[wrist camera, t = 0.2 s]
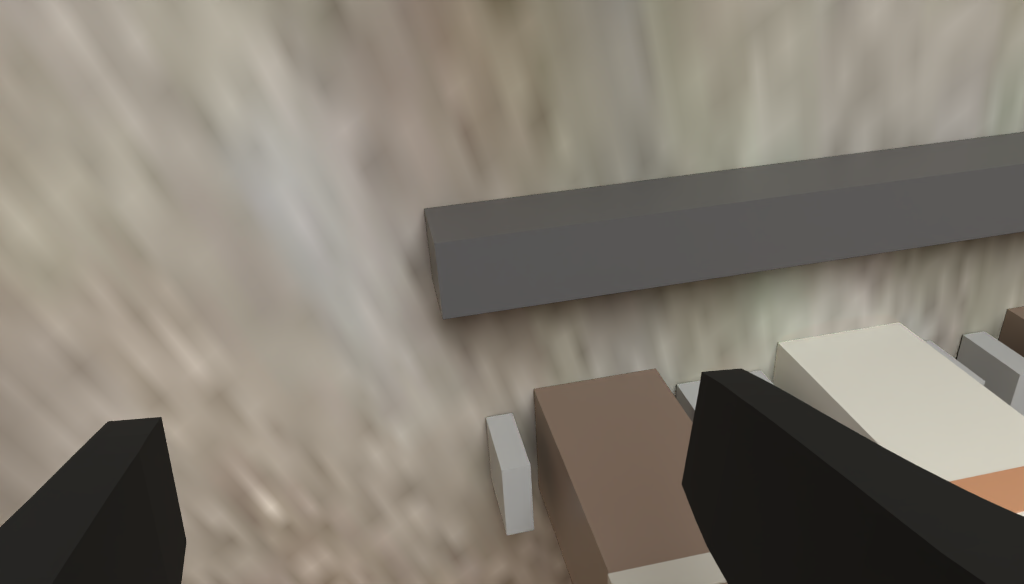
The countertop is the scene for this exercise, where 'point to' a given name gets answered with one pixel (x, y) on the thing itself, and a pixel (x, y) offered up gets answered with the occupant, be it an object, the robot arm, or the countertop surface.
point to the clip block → (722, 246)
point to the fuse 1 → (620, 481)
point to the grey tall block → (911, 406)
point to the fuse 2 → (1013, 330)
